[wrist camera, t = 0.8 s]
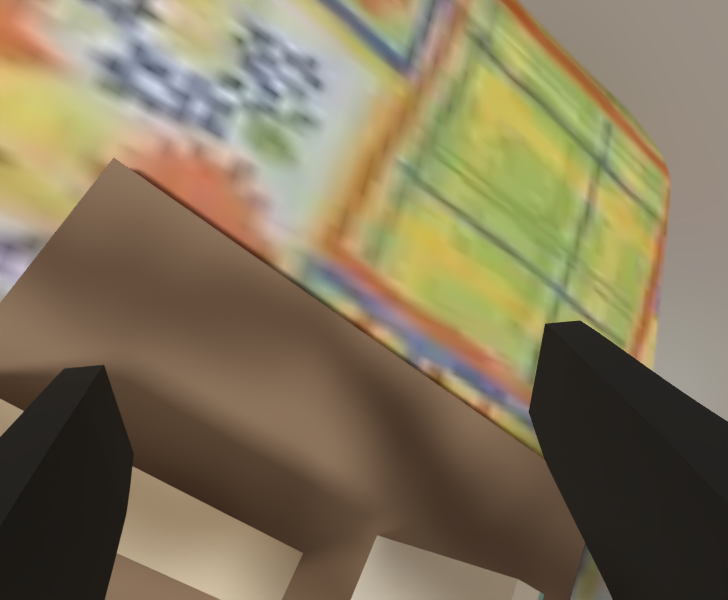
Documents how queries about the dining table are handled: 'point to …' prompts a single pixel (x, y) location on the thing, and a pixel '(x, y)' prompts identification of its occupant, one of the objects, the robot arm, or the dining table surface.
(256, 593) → the beige long rectangular bar
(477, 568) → the tile
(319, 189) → the dining table surface
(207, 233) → the board
